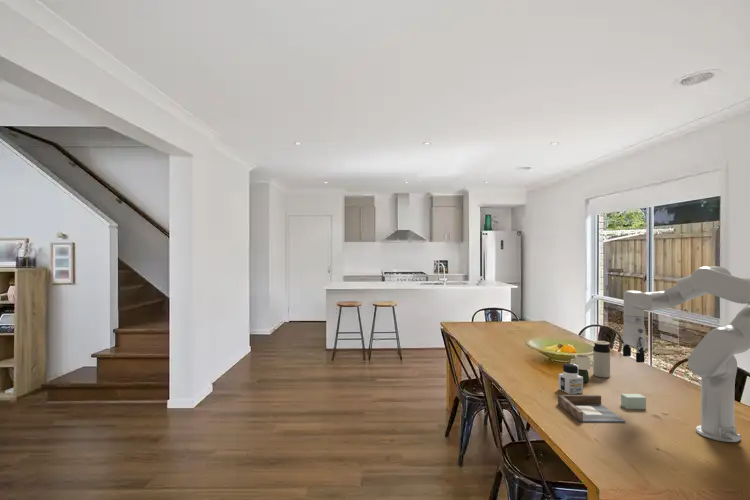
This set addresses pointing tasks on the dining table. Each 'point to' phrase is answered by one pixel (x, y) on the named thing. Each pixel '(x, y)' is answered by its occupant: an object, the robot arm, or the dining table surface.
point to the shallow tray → (588, 408)
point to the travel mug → (601, 359)
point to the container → (570, 379)
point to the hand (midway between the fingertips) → (633, 359)
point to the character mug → (583, 365)
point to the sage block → (633, 401)
